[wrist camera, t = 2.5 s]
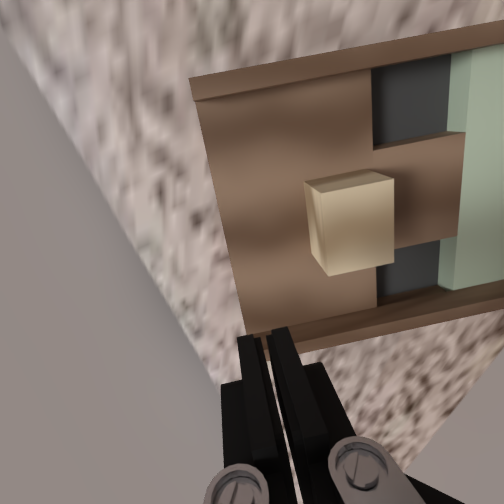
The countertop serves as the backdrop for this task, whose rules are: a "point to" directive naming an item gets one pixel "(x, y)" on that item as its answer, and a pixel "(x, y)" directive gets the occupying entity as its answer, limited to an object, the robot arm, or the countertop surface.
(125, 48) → the countertop surface
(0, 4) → the countertop surface
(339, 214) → the maple block
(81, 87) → the countertop surface
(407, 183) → the box
